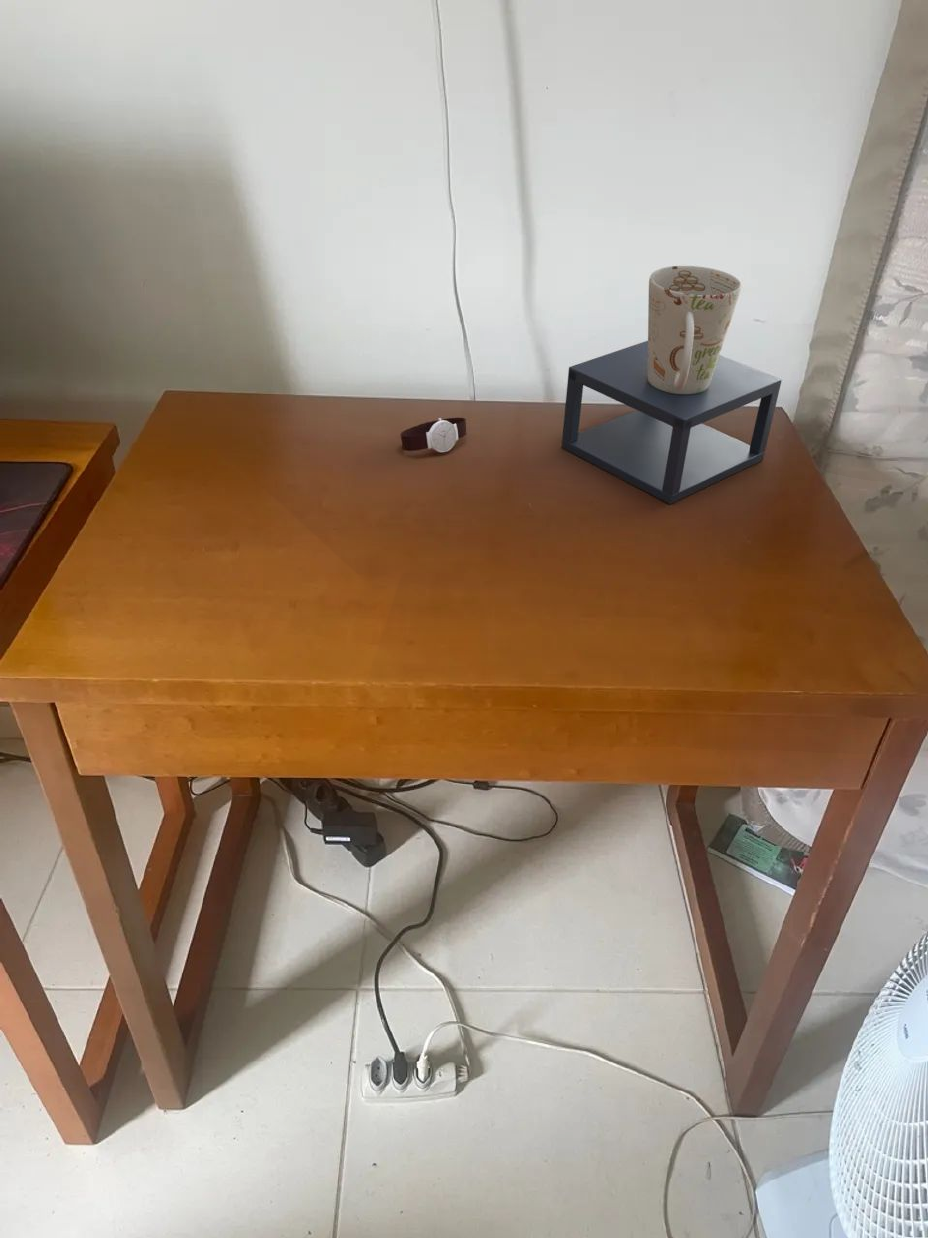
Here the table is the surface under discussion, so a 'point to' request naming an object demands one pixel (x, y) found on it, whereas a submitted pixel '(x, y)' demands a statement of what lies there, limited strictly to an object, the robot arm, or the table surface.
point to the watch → (434, 435)
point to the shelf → (667, 424)
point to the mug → (688, 325)
